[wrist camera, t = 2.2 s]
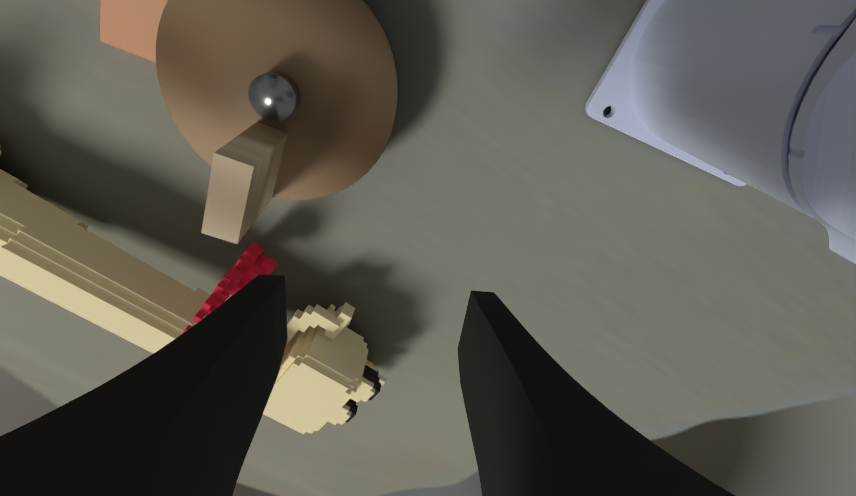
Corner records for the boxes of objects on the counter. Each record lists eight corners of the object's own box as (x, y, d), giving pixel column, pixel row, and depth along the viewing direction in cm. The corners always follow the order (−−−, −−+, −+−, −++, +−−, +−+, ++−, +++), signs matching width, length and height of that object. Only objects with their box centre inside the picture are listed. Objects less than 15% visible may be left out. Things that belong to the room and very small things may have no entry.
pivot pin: (304, 81, 15) (299, 85, 14) (294, 122, 16) (288, 128, 15) (260, 63, 14) (253, 66, 14) (252, 106, 15) (244, 111, 15)
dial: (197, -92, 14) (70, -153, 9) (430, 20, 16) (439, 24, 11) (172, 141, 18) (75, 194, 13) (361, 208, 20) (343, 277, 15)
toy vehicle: (-70, 202, 21) (336, 418, 28) (-369, 298, 13) (295, 567, 20) (-35, 31, 17) (426, 329, 24) (-426, 26, 9) (418, 470, 16)
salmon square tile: (179, 2, 16) (171, 2, 15) (173, 64, 17) (165, 66, 16) (111, -27, 15) (101, -28, 15) (109, 39, 16) (100, 40, 16)
